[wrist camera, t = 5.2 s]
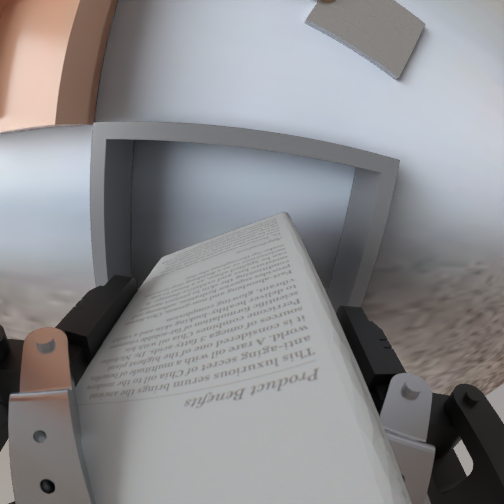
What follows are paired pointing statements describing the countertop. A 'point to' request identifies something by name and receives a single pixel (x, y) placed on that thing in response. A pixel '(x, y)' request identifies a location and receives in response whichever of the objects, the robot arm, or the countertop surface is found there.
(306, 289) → the skincare box
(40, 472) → the robot arm
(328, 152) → the bin
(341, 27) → the hand shovel
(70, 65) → the bin
